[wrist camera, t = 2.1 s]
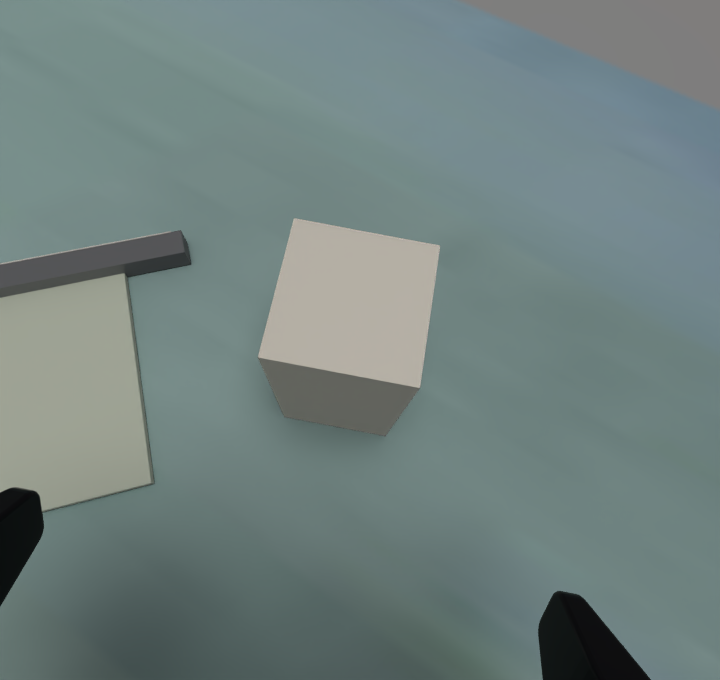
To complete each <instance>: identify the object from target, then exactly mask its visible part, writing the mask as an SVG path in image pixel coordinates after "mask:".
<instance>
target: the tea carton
mask: <svg viewBox="0 0 720 680" xmlns="http://www.w3.org/2000/svg"><path fill="white" fill-rule="evenodd" d="M439 250H440V246H439V245H434V244H428V243H423V242H418V241H412V240H407V239H402V238H396V237H391V236H386V235H380V234H375V233H370V232H365V231H359V230H354V229H349V228H343V227H338V226H333V225H327V224H322V223H317V222H311V221H306V220H301V219H295V218H294V221H293V224H292V228H291V232H290V236H289V240H288V244H287V248H286V251H285V255H284V259H283V263H282V267H281V271H280V274H279V278H278V282H277V286H276V290H275V294H274V298H273V301H272V305H271V309H270V313H269V317H268V321H267V324H266V328H265V332H264V336H263V340H262V344H261V348H260V351H259V355H258V359H259V361H260V363H261V365H262V368H263V370H264V372H265V374H266V377H267V379H268V381H269V383H270V386H271V388H272V390H273V392H274V395H275V397H276V399H277V401H278V404H279V406H280V408H281V411H282V413H283V415H284V417H287V418H292V419H297V420H303V421H308V422H313V423H318V424H324V425H329V426H334V427H340V428H345V429H350V430H355V431H361V432H366V433H371V434H377V435H382V436H386V435H387V433H388V432H389V430H390V429H391V428H392V426H393V425H394V423H395V422H396V421H397V419H398V418H399V416H400V415H401V414H402V412H403V411H404V409H405V408H406V407H407V405H408V404H409V403H410V401H411V400H412V398H413V397H414V396H415V394H416V393H417V391H418V390H419V389H420V384H421V377H422V370H423V363H424V356H425V349H426V342H427V334H428V327H429V320H430V313H431V306H432V299H433V292H434V285H435V278H436V271H437V264H438V257H439Z"/></svg>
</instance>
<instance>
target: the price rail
mask: <svg viewBox="0 0 720 680" xmlns="http://www.w3.org/2000/svg"><path fill="white" fill-rule="evenodd" d="M190 264H191V261H190V255H189V249H188V244H187V241H186V239H185V238H184V236H183V234H182V232H181V230H180V231H175V232H171V231H170V232H164V233H159V234H154V235H149V236H143V237H138V238H133V239H128V240H122V241H117V242H112V243H106V244H101V245H96V246H91V247H85V248H80V249H75V250H69V251H64V252H59V253H54V254H48V255H43V256H38V257H33V258H27V259H22V260H17V261H11V262H6V263H1V264H0V298H1V297H7V296H12V295H17V294H22V293H27V292H32V291H37V290H42V289H47V288H52V287H57V286H62V285H67V284H72V283H77V282H82V281H87V280H92V279H97V278H102V277H107V276H112V275H117V274H122V273H125V275H126V276H127V277H130V276H135V275H140V274H145V273H150V272H155V271H160V270H165V269H170V268H175V267H180V266H185V265H190Z"/></svg>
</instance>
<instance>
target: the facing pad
mask: <svg viewBox="0 0 720 680" xmlns="http://www.w3.org/2000/svg"><path fill="white" fill-rule="evenodd" d="M151 484H154V477H153V470H152V462H151V454H150V446H149V439H148V431H147V423H146V416H145V408H144V400H143V393H142V385H141V377H140V370H139V362H138V354H137V347H136V339H135V331H134V324H133V316H132V308H131V301H130V293H129V285H128V278H127V276H126V275H125V273H122V274H117V275H112V276H107V277H102V278H97V279H92V280H87V281H82V282H77V283H72V284H67V285H62V286H57V287H52V288H47V289H42V290H37V291H32V292H27V293H22V294H17V295H12V296H7V297H1V298H0V492H2V491H4V490H6V489H9V488H12V487H19V488H24V489H29V490H34V491H36V492H37V493H38V494H39V495H40V500H41V507H42V512H45V511H49V510H53V509H57V508H61V507H65V506H69V505H73V504H77V503H81V502H84V501H88V500H92V499H96V498H100V497H104V496H108V495H112V494H116V493H119V492H123V491H127V490H131V489H135V488H139V487H143V486H147V485H151Z"/></svg>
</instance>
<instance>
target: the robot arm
mask: <svg viewBox="0 0 720 680" xmlns="http://www.w3.org/2000/svg"><path fill="white" fill-rule="evenodd" d="M43 529H44V521H43V514H42V507H41V500H40V495H39V494H38V493H37V492H36V491H34V490H29V489H24V488H19V487H12V488H9V489H6V490H4V491H2V492H0V606H1V604H2V603H3V601H4V599H5V598H6V596H7V594H8V593H9V591H10V589H11V588H12V586H13V584H14V583H15V581H16V579H17V578H18V576H19V574H20V572H21V571H22V569H23V567H24V566H25V564H26V562H27V561H28V559H29V557H30V556H31V554H32V552H33V551H34V549H35V547H36V546H37V544H38V542H39V540H40V538H41V536H42V533H43ZM538 636H539V646H540V656H541V666H542V676H543V680H651V679H650V678H649V677H648V676H647V674H646V673H645V672H644V671H643V669H642V668H641V667H640V666H639V665H638V663H637V662H636V661H635V660H634V659H633V657H632V656H631V655H630V654H629V653H628V651H627V650H626V649H625V648H624V646H623V645H622V644H621V643H620V642H619V640H618V639H617V638H616V637H615V636H614V634H613V633H612V632H611V631H610V630H609V628H608V627H607V626H606V625H605V623H604V622H603V621H602V620H601V619H600V617H599V616H598V615H597V614H596V613H595V611H594V610H593V609H592V608H591V606H590V605H589V604H588V603H587V602H586V600H585V599H584V598H582V597H581V596H580V595H577V594H573V593H568V592H563V591H557V592H555V593H554V594H553V596H552V597H551V599H550V601H549V603H548V605H547V607H546V609H545V611H544V613H543V615H542V617H541V620H540V623H539V629H538Z"/></svg>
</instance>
